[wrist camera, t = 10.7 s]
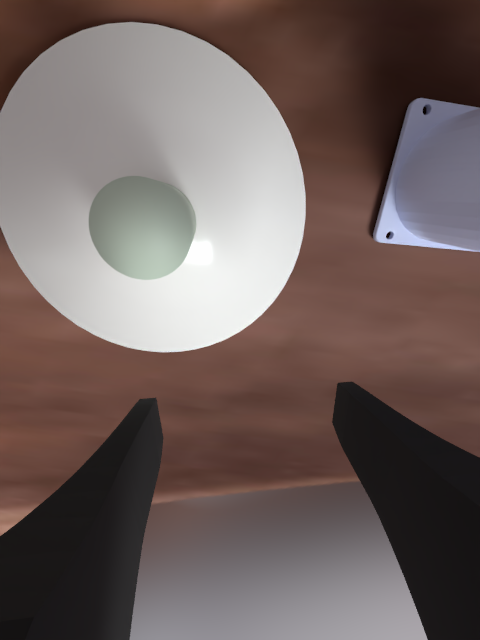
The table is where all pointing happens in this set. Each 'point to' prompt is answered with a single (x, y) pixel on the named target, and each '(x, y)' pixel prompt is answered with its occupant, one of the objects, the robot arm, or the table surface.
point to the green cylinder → (142, 226)
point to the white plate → (155, 163)
